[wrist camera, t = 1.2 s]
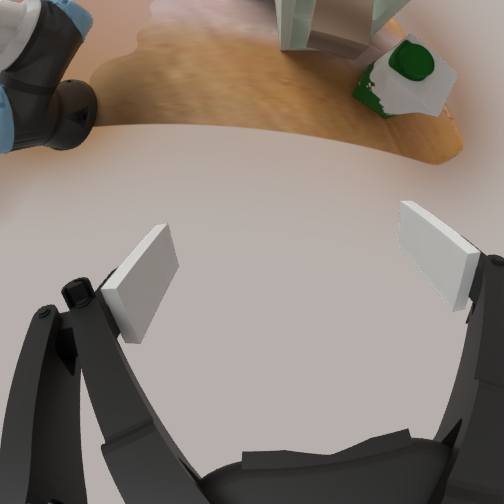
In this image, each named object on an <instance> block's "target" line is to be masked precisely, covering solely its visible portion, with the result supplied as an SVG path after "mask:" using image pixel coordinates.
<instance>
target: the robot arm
mask: <svg viewBox="0 0 504 504" xmlns="http://www.w3.org/2000/svg"><path fill="white" fill-rule="evenodd" d="M92 24H93V18H92V15H91V14H90V13H89V12H88V11H87V10H85V9H84V8H83V7H81V6H80V5H78V4H77V3H75V2H73V1H72V0H25V1H23V2H21V3H16V2H12V1H8V0H0V71H1V73H0V154H2V153H4V154H6V153H9V152H11V151H15V150H21V149H25V148H30V147H36V146H41V145H43V146H46V147H50V148H52V149H55V150H69V149H73V148H75V147H77V146H79V145H80V144H81V143H82V142H83V141H84V140H85V139H86V138H87V136H88V135H89V133H90V131H91V129H92V127H93V125H94V121H95V117H96V111H97V104H96V97H95V94H94V92H93V90H92V88H91V87H90V86H89V85H88V84H87V83H85V82H83V81H80V80H65V81H63V82H60V81H61V79H62V77H63V75H64V73H65V71H66V69H67V68H68V66H69V64H70V62H71V60H72V59H73V57H74V55H75V54H76V52H77V50H78V48H79V47H80V45H81V44H82V43H83V42H84V40H85V36H86V35H87V33H88V32H89V30H90V29H91V27H92ZM397 246H398V247H399V248H400V249H401V250H402V251H403V252H404V253H405V255H406V256H407V257H408V258H409V259H410V260H411V261H412V263H413V264H414V265H415V266H416V267H417V268H418V270H419V271H420V272H421V273H422V274H423V276H424V277H425V278H426V279H427V281H428V282H429V283H430V284H431V285H432V287H433V288H434V289H435V290H436V292H437V293H438V294H439V296H440V297H441V298H442V299H443V301H444V302H445V303H446V304H447V306H448V307H449V309H450V310H451V311H452V312H454V311H458V310H462V309H465V306H466V304H467V300H468V297H469V298H470V299H471V300H472V301H473V303H472V306H471V310H470V312H469V315H468V318H467V321H466V323H468V328H467V334H466V339H465V343H464V348H463V353H462V357H461V361H460V365H459V369H458V372H457V376H456V380H455V383H454V386H453V390H452V393H451V396H450V399H449V402H448V405H447V408H446V411H445V414H444V416H443V419H442V422H441V424H440V427H439V430H438V432H437V434H436V436H435V437H434V439H433V440H429V439H423V438H411V436H410V433H409V429H404V430H401V431H397V432H394V433H390V434H386V435H382V436H377V437H373V438H370V439H368V440H366V441H364V442H361V443H359V444H357V445H354V446H352V447H350V448H347V449H345V450H342V451H340V452H337V453H335V454H331V455H321V454H310V453H302V452H293V451H287V450H280V451H259V452H258V451H254V452H242V461H241V462H236V463H233V464H229V465H226V466H223V467H221V468H219V469H216V470H215V471H213V472H211V473H209V474H207V475H206V476H204V477H203V478H201V477H200V476H199V474H198V473H197V472H196V471H195V470H194V468H193V467H192V466H191V465H190V463H189V462H188V461H187V459H186V458H185V457H184V455H183V454H182V452H181V451H180V449H179V448H178V447H177V445H176V444H175V442H174V441H173V439H172V438H171V436H170V435H169V433H168V432H167V430H166V429H165V427H164V425H163V424H162V422H161V421H160V419H159V417H158V416H157V414H156V413H155V411H154V409H153V407H152V406H151V404H150V402H149V400H148V399H147V397H146V395H145V393H144V392H143V390H142V388H141V386H140V384H139V383H138V381H137V379H136V377H135V375H134V373H133V371H132V369H131V367H130V365H129V363H128V361H127V359H126V357H125V355H124V353H123V351H122V349H121V347H120V344H119V343H118V341H117V338H118V335H119V334H120V333H121V335H122V337H123V339H124V341H125V343H136V344H141V342H142V339H143V338H144V335H145V333H146V331H147V329H148V327H149V325H150V322H151V321H152V319H153V317H154V315H155V312H156V310H157V308H158V306H159V304H160V302H161V300H162V298H163V296H164V294H165V292H166V290H167V288H168V286H169V284H170V282H171V280H172V279H173V277H174V275H175V273H176V271H177V269H178V267H179V265H178V261H177V257H176V253H175V249H174V246H173V242H172V238H171V234H170V230H169V225H168V223H165V224H158V225H155V226H154V227H153V228H152V229H151V231H150V232H149V233H148V234H147V235H146V236H145V237H144V238H143V239H142V241H141V242H140V243H139V244H138V245H137V246H136V247H135V249H134V250H133V251H132V252H131V253H130V254H129V255H128V257H127V258H126V259H125V260H124V261H123V262H122V264H121V265H120V266H119V267H117V268H116V269H115V270H113V271H112V272H111V273H110V274H109V275H108V277H107V279H105V280H104V281H103V283H102V284H101V285H100V286H99V287H98V289H97V290H96V291H95V292H94V290H93V288H92V285H91V283H90V281H89V279H88V278H85V277H82V278H78V279H75V280H73V281H71V282H69V283H68V284H66V285H65V286H64V287H63V289H62V291H61V293H62V295H63V297H64V299H65V301H66V303H67V306H68V308H69V310H70V311H68V312H64V313H59V312H58V310H57V308H56V306H55V305H47V306H43V307H41V308H40V309H38V311H37V312H36V313H35V314H34V316H33V318H32V321H31V323H30V326H29V329H28V331H27V334H26V337H25V340H24V343H23V346H22V349H21V353H20V356H19V359H18V362H17V366H16V370H15V373H14V377H13V381H12V385H11V389H10V394H9V398H8V402H7V407H6V413H5V418H4V424H3V431H2V438H1V448H0V504H87V494H86V487H85V480H84V472H83V463H82V451H81V434H80V379H81V378H80V377H81V368H82V372H83V376H84V380H85V383H86V387H87V390H88V393H89V397H90V400H91V403H92V406H93V409H94V412H95V415H96V418H97V421H98V423H99V426H100V429H101V431H102V434H103V436H104V439H105V444H102V445H101V451H102V454H103V457H104V459H105V462H106V464H107V466H108V469H109V471H110V473H111V475H112V477H113V480H114V482H115V484H116V486H117V488H118V490H119V492H120V494H121V496H122V498H123V499H124V502H125V504H504V258H503V257H501V256H498V255H488V256H486V255H485V254H484V253H482V252H481V251H480V250H479V249H478V248H476V247H475V246H474V245H473V244H472V243H471V242H469V241H468V240H467V239H465V238H464V237H463V236H461V235H459V234H457V233H456V232H455V231H454V230H452V229H451V228H450V227H448V226H447V225H446V224H444V223H443V222H442V221H440V220H439V219H438V218H436V217H435V216H433V215H432V214H431V213H429V212H428V211H426V210H425V209H423V208H422V207H421V206H419V205H417V204H416V203H415V202H413V201H411V200H406V201H400V212H399V228H398V240H397Z"/></svg>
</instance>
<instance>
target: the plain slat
mask: <svg viewBox="0 0 504 504" xmlns="http://www.w3.org/2000/svg"><path fill="white" fill-rule="evenodd" d="M373 8H374V0H314V5H313V11H312V16H311V22H310V27H309V33H308V38H307V43H306V47H308V48H313V49H317V50H321V51H325V52H329V53H333V54H337V55H340V56H344V57H347V58H350V59H354V60H355V59H356V58H357V57H358V56H359V55H360V54H361V53H362V52H363V51H365V50H366V49H367V48H368V47H369V43H370V36H371V27H372V18H373Z"/></svg>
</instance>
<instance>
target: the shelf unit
mask: <svg viewBox="0 0 504 504" xmlns="http://www.w3.org/2000/svg"><path fill="white" fill-rule="evenodd" d="M409 1H410V0H374V8H373V18H372V27H371V36H370V38H371V37H372V36H373V35H374V34H375V33H376V32H377V31H378V30H379V29H380V28H381V27H382V26H383V25H384V24H385V23H387V22H388V21H389V20H390V19H391V18H392V17H393V16H394V15H395V14H396V13H397V12H398V11H399V10H400V9H401V8H403V7H404V6H405V5H406V4H407V3H408V2H409ZM274 2H275V9H276V17H277V25H278V33H279V42H280V51H285V50H317V49H313V48H308V47H306V43H307V38H308V33H309V27H310V22H311V16H312V11H313V5H314V0H274Z"/></svg>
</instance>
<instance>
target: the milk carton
mask: <svg viewBox="0 0 504 504" xmlns="http://www.w3.org/2000/svg"><path fill="white" fill-rule="evenodd" d="M457 77H458V74H457V73H456V72H455V71H454V70H453V69H452V68H451V67H450V66H449V65H448V64H446V63H445V62H444V59H442V58H441V57H440V56H439V55H438V54H436V53H435V52H434V51H433V50H431V49H430V48H429V47H428V46H426V45H425V44H424V43H423V42H421V41H420V40H418V39H417V38H416V37H415V36H413V35H412V34H409V35H408V36H407V37H405V38H404V39H403V40H402V41H400V42H399V43H398V44H397V45H396V46H394V47H393V48H392V49H391V50H390V51H388V52H387V53H385V54H384V55H383V56H381V57H380V58H378V59H377V60H376V61H374V62H373V63H371V64H370V65H369V66H368V67H367V69H366V71H365V72H364V74H363V76H362V78H361V79H360V81H359V83H358V85H357V87H356V89H355V91H354V93H353V94H352V96H353V97H355V98H356V99H358V100H359V101H361V102H362V103H364V104H365V105H367V106H368V107H370V108H371V109H372V110H374V111H375V112H377V113H378V114H379V115H381V116H382V117H384V118H385V119H387V118H390V117H393V116H397V115H400V114H407V113H415V112H417V113H422V114H427V115H431V116H435V117H439V115H440V113H441V111H442V109H443V107H444V105H445V103H446V101H447V98H448V96H449V94H450V92H451V90H452V88H453V86H454V83H455V81H456V79H457Z"/></svg>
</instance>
